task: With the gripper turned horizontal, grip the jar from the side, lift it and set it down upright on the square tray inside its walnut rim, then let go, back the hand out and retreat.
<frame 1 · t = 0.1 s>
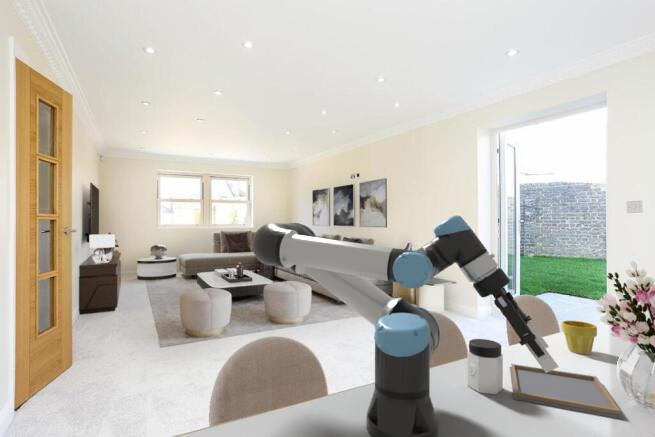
hand: (547, 358, 79), 15 cm above the table, tool tilted 35°, fingers open, 13 cm apart
square tray: (558, 390, 98), on the table
jar: (484, 388, 99), on the table
plant pot: (579, 351, 129), on the table
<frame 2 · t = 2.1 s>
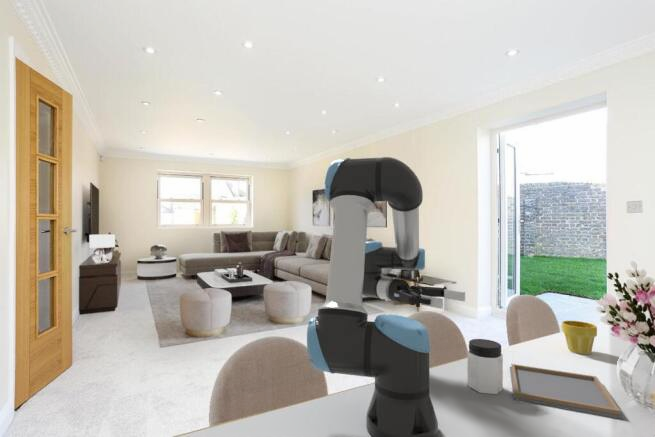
hand: (454, 300, 105), 22 cm above the table, tool horizontal, fingers open, 13 cm apart
nothing on the table moved.
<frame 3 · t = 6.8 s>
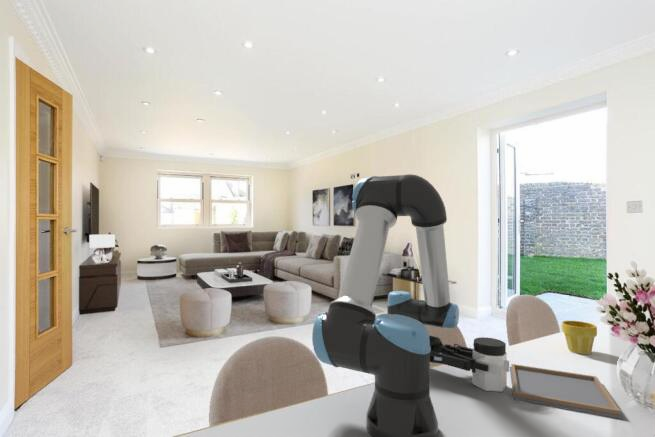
hand: (505, 368, 95), 7 cm above the table, tool horizontal, fingers open, 4 cm apart
jar: (489, 386, 100), on the table, touching gripper
everything else where it was.
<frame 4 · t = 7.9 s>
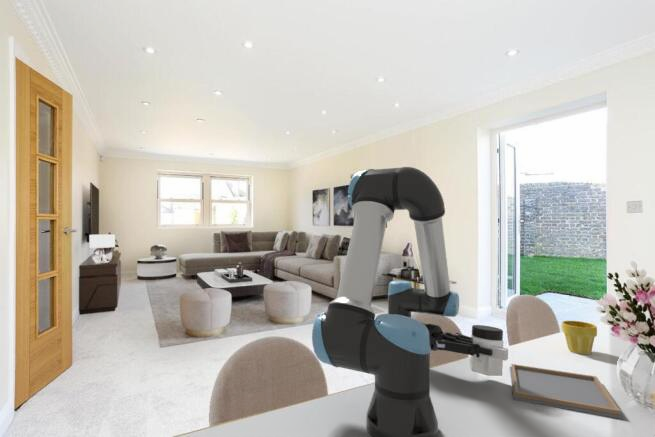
hand: (506, 354, 96), 10 cm above the table, tool horizontal, fingers closed on jar
jar: (485, 371, 102), point 3 cm above the table, touching gripper
everything else where it was.
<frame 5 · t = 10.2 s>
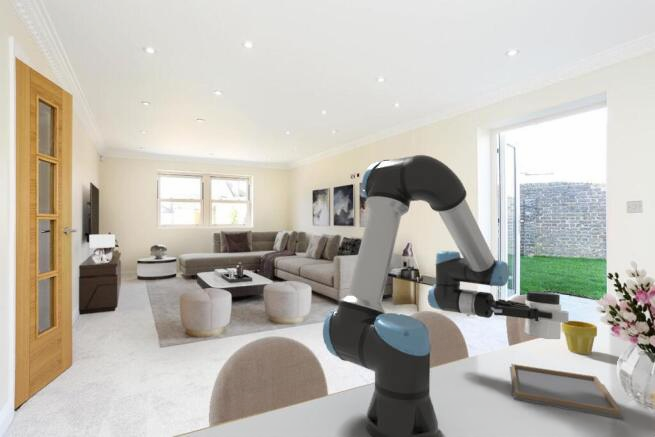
hand: (567, 317, 96), 20 cm above the table, tool horizontal, fingers closed on jar
jar: (541, 336, 103), point 13 cm above the table, touching gripper
everything else where it was.
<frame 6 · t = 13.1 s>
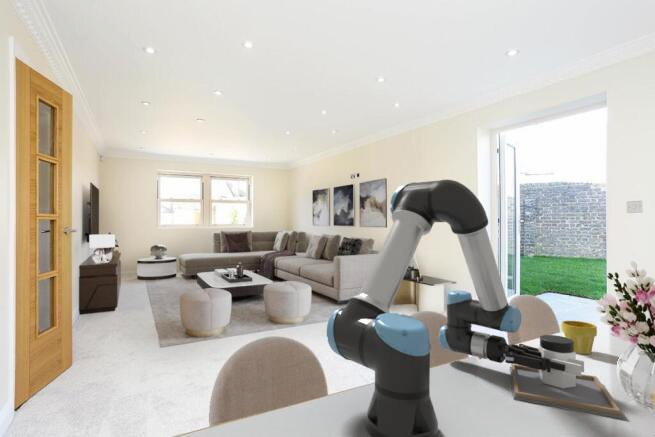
hand: (582, 368, 94), 7 cm above the table, tool horizontal, fingers open, 3 cm apart
jar: (556, 382, 101), resting on square tray
everything else where it was.
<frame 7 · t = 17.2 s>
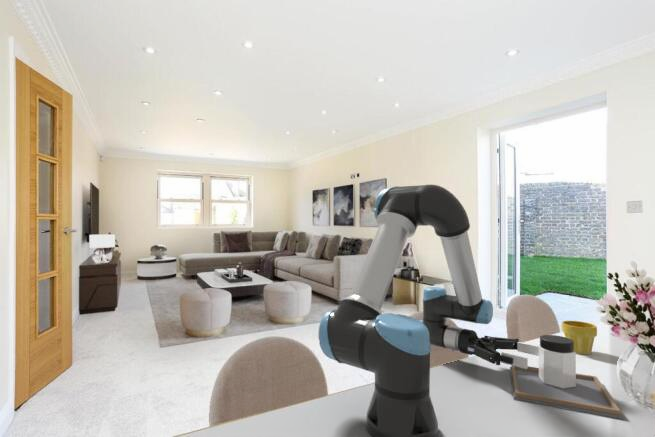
hand: (534, 357, 102), 7 cm above the table, tool horizontal, fingers open, 13 cm apart
nothing on the table moved.
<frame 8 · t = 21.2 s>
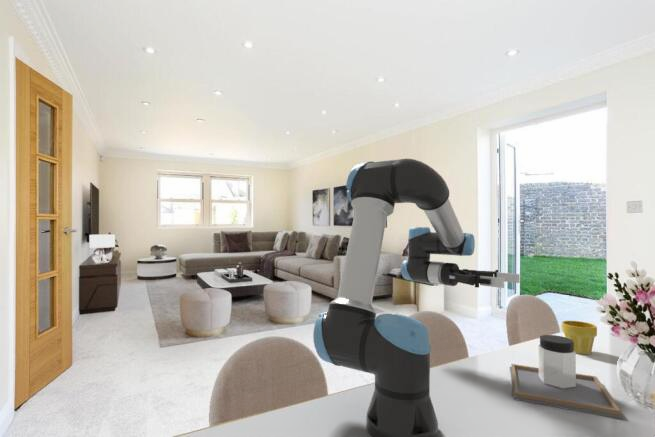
hand: (511, 280, 107), 28 cm above the table, tool horizontal, fingers open, 13 cm apart
nothing on the table moved.
at the end: jar inside the target area on the square tray (4.1 cm from its centre), point 0.4 cm above the square tray's base; jar tilted 0°; the gripper is holding nothing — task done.
